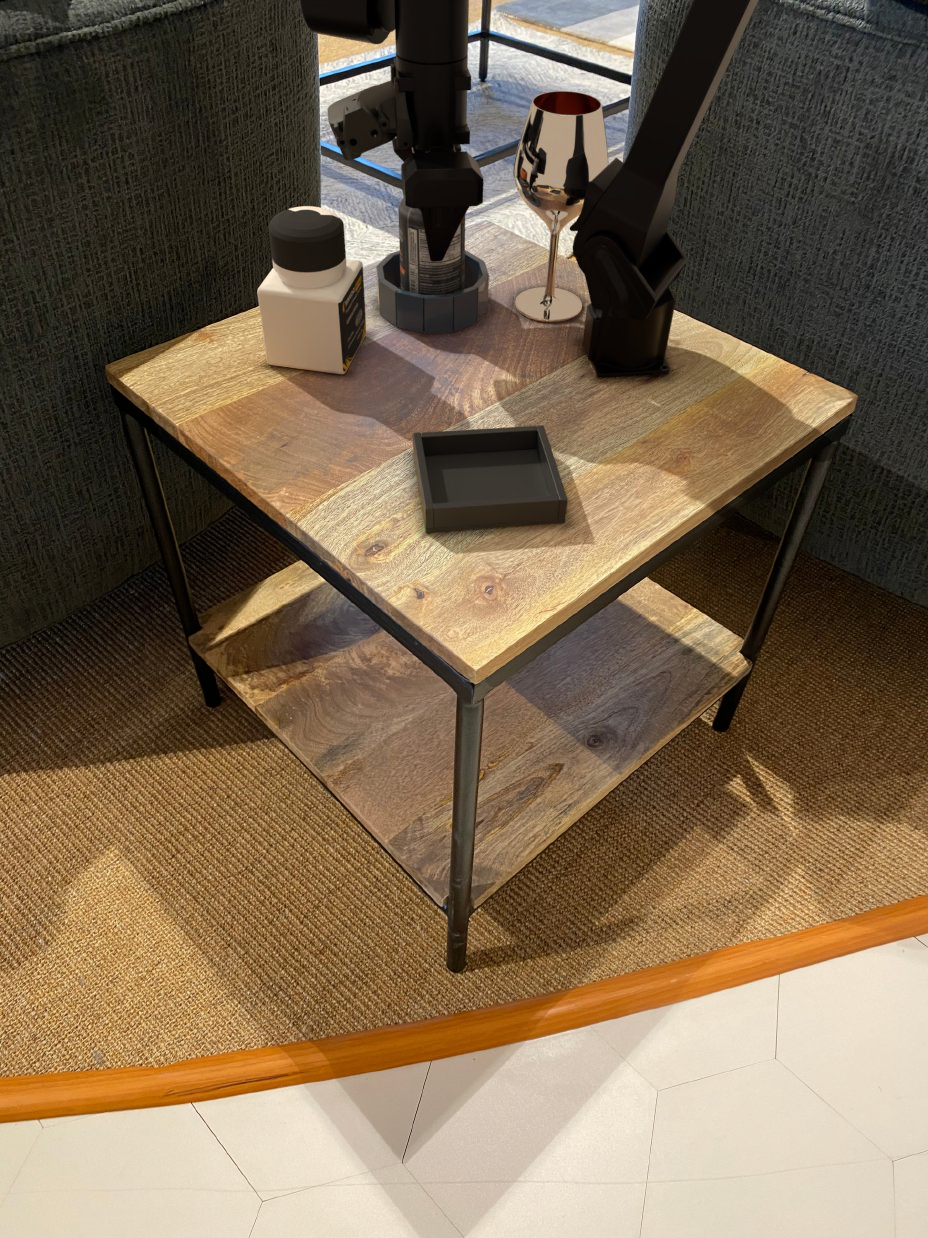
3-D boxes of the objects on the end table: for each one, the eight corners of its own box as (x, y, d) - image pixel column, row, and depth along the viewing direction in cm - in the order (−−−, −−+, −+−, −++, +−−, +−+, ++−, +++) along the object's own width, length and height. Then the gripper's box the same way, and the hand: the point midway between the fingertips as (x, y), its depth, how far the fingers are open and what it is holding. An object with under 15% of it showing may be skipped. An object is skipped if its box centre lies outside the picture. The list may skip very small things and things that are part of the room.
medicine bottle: (345, 376, 85) (335, 240, 76) (266, 365, 85) (247, 230, 77) (367, 334, 89) (360, 202, 81) (292, 324, 90) (277, 193, 82)
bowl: (478, 277, 97) (479, 243, 95) (493, 330, 90) (495, 294, 88) (375, 281, 96) (373, 247, 94) (382, 335, 89) (381, 299, 87)
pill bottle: (413, 276, 95) (411, 155, 87) (472, 286, 94) (475, 165, 86) (391, 305, 91) (387, 181, 83) (452, 316, 90) (453, 192, 82)
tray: (541, 448, 78) (543, 424, 76) (565, 523, 72) (568, 499, 70) (413, 455, 77) (412, 432, 75) (425, 533, 71) (425, 509, 69)
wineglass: (487, 303, 94) (496, 100, 81) (545, 276, 98) (562, 79, 85) (551, 336, 90) (571, 128, 77) (608, 306, 94) (637, 104, 81)
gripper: (325, 20, 84) (338, 203, 95) (334, 96, 71) (348, 298, 82) (455, 17, 85) (453, 199, 96) (487, 92, 72) (480, 292, 83)
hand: (432, 244), depth 89 cm, fingers closed on pill bottle, 6 cm apart
